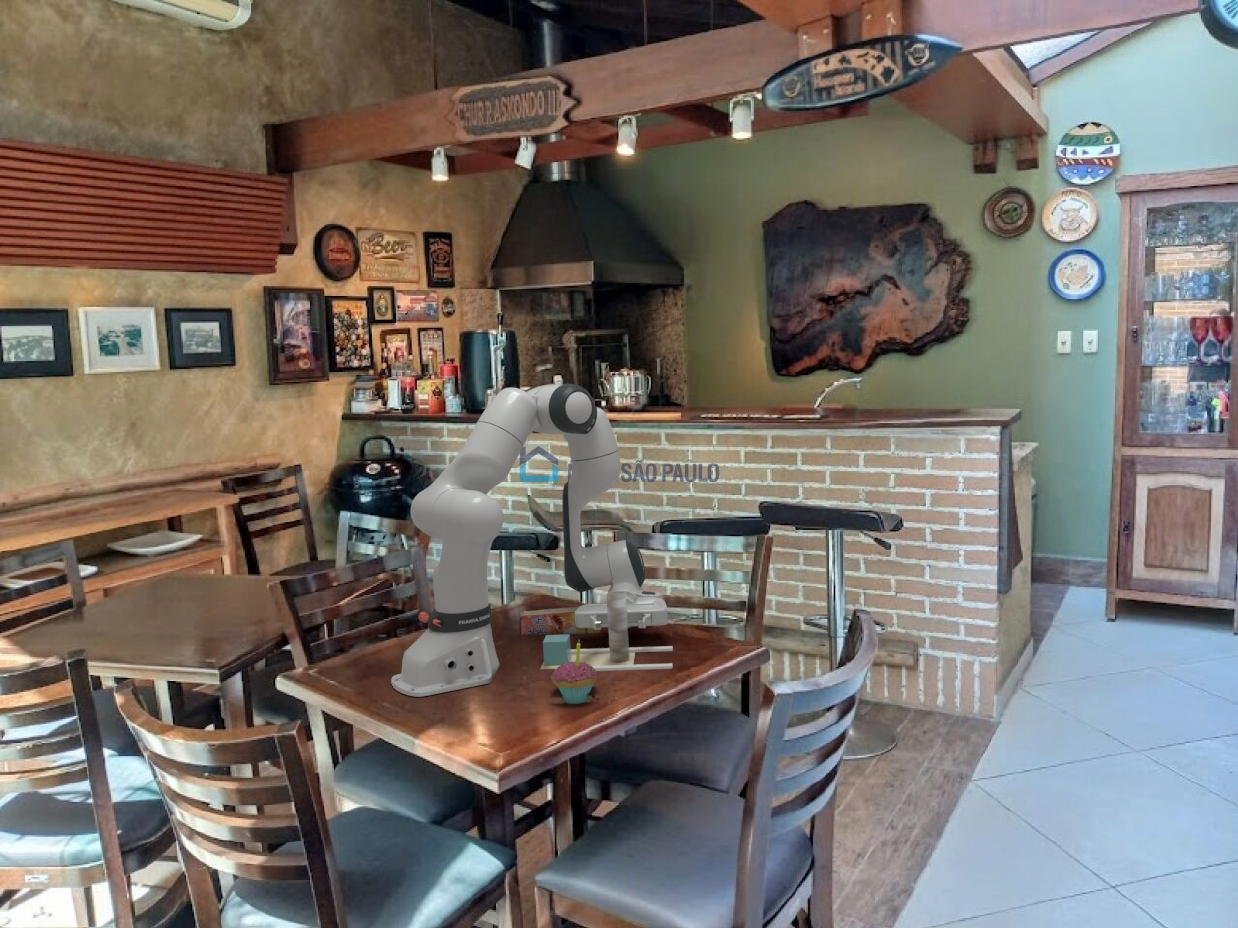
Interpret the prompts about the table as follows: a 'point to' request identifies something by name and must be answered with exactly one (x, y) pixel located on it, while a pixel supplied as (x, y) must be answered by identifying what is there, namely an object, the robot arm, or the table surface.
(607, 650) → the lane
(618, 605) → the post on flat base
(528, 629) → the snack package
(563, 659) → the cube
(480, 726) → the table surface
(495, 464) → the robot arm
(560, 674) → the cupcake
